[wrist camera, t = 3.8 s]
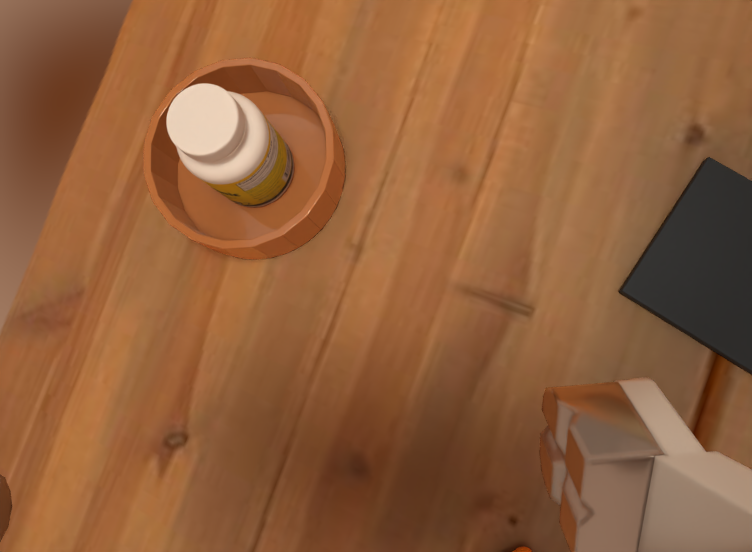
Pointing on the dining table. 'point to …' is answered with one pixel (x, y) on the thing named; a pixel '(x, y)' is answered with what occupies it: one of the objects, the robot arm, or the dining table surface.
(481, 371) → the dining table surface
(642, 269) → the mat
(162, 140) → the round wooden tray
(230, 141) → the supplement bottle
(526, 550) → the smartphone
